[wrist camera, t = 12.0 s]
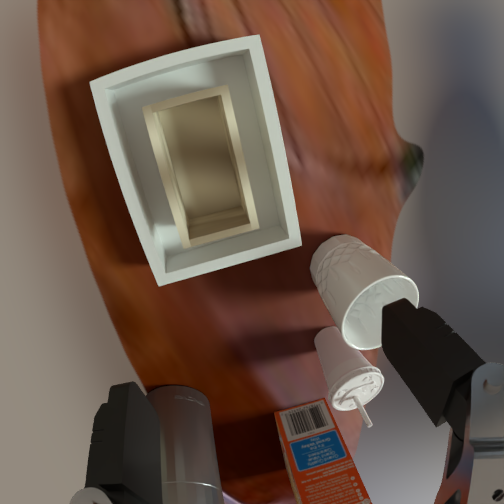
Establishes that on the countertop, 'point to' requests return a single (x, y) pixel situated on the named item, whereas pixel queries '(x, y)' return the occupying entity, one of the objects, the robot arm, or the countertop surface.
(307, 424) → the orange cereal box
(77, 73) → the countertop surface
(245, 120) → the white crate
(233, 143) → the birch crate
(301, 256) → the countertop surface
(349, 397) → the smoothie
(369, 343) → the white cup
